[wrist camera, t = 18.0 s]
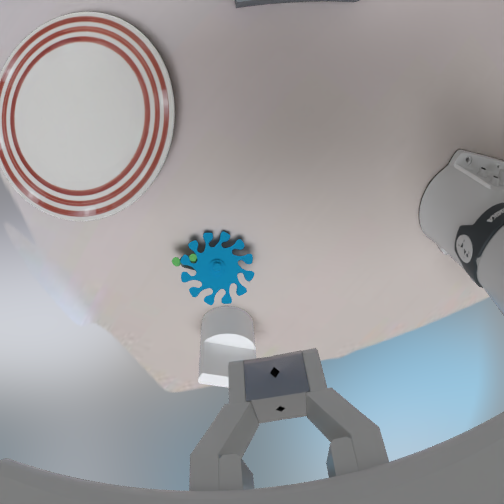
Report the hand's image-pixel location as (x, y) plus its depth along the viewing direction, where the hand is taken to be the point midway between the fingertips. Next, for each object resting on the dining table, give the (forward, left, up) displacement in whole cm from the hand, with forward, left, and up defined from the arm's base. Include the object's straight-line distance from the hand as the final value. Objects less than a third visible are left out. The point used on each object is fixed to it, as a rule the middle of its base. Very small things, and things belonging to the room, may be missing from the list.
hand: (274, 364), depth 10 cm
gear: (+7, +16, -31) cm, 36 cm away
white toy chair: (+8, +31, -31) cm, 45 cm away
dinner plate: (+20, -8, -32) cm, 38 cm away
